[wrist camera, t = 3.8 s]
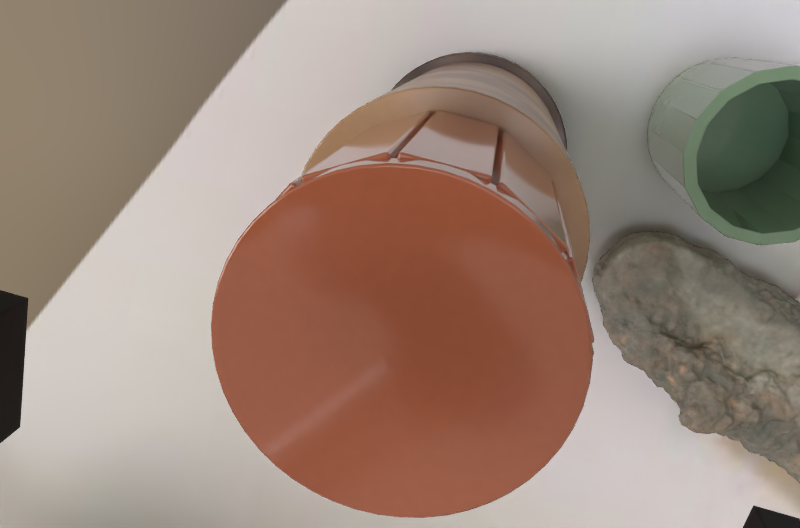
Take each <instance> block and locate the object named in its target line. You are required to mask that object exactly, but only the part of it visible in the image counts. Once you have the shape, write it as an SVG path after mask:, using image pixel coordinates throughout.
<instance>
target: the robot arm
mask: <svg viewBox="0 0 800 528" xmlns="http://www.w3.org/2000/svg"><path fill="white" fill-rule="evenodd" d="M27 307H28V298H26V297H22V296H18V295H15V294H12V293H8V292H5V291H1V290H0V443H1V442H2V441H3V440H5V439H6V438H7V437H8V436H10V435H11V434H12V433H13V432H14V431H16V430H17V429H18V428H19V427H20V419H21V404H22V388H23V372H24V356H25V341H26V325H27V309H28V308H27ZM743 528H800V520H799V519H798V518H795V517H791V516H788V515H784V514H781V513H777V512H774V511H771V510H767V509H764V508H760V507H757V506H753V508H752V510H751V512H750V514H749V516H748V518H747V520H746V522H745V524H744V526H743Z"/></svg>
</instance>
